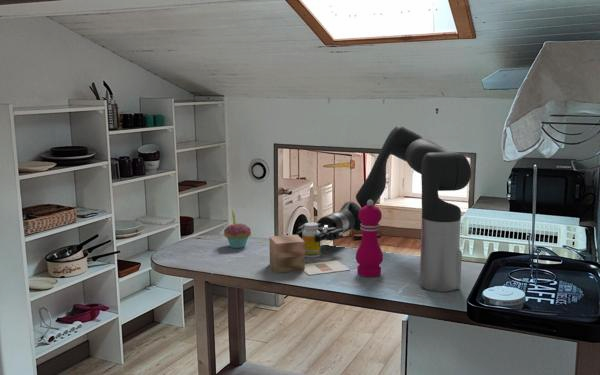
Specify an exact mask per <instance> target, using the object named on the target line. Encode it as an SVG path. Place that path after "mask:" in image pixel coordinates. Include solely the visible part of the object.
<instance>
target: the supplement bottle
mask: <svg viewBox="0 0 600 375" xmlns="http://www.w3.org/2000/svg"><path fill="white" fill-rule="evenodd" d="M303 224H304V228H305V230H304V231H303V232H302V240H304V241H305V258H307V259H308V258H309V259H310V258H311V259H312V258H317V257H318V258H319V257H320V256H321V241H320V242H315V235H316V234H319V233H320V231H318V230H317V229H318V224H317V222H306V223H303Z"/></svg>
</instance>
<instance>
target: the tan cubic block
mask: <svg viewBox="0 0 600 375" xmlns="http://www.w3.org/2000/svg"><path fill="white" fill-rule="evenodd" d="M305 262H306V257H305V241H304V240H302V239H301V238H300V237H299V236H298V235H297V234H288V235H287V234H285V235H284V234H283V235H273V236H270V235H269V265H270V266H271V268H272V269H273V272H275V273H277V274H278V273H286V272H287V273H289V272H298V271H300V272H301V271H303V270H304V269H305V264H306V263H305Z"/></svg>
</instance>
